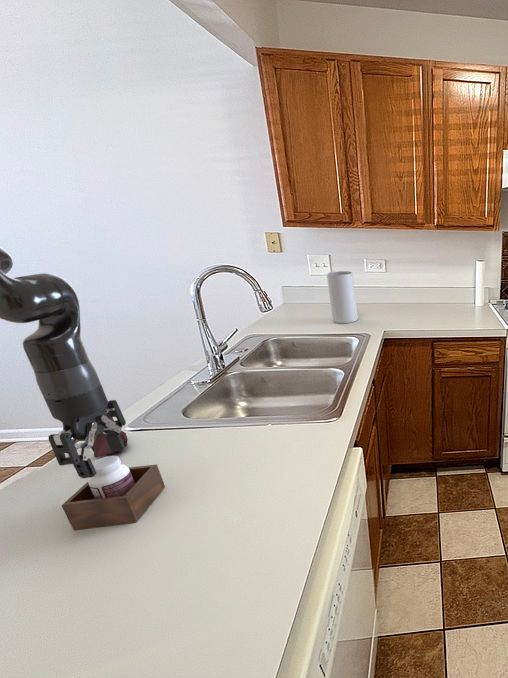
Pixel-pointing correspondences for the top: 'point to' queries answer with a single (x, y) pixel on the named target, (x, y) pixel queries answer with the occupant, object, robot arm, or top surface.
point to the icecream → (106, 445)
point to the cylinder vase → (342, 296)
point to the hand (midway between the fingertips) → (104, 462)
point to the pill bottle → (110, 478)
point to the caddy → (115, 501)
